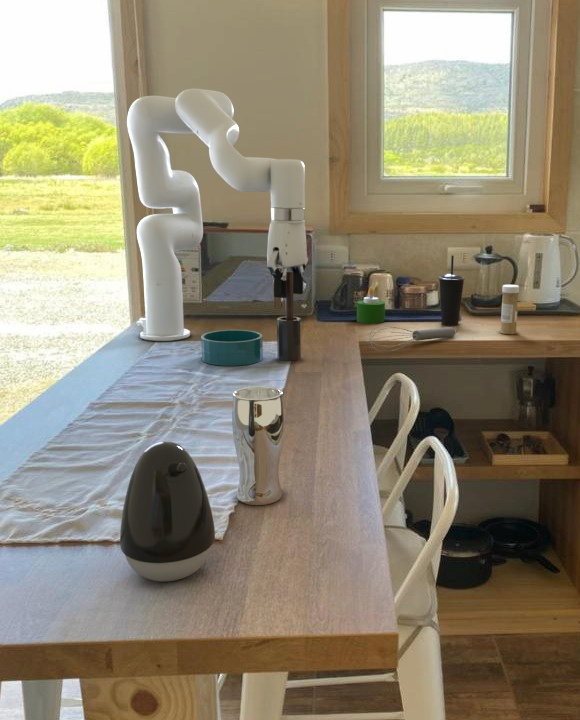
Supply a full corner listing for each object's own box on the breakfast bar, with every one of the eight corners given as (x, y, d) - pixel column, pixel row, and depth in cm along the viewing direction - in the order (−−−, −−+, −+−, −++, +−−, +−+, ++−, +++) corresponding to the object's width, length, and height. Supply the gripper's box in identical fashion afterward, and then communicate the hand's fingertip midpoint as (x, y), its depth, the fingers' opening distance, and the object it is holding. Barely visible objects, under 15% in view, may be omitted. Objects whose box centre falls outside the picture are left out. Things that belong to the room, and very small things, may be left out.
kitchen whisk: (465, 337, 218) (466, 314, 216) (378, 357, 194) (378, 331, 193) (448, 333, 222) (449, 311, 220) (360, 352, 198) (360, 327, 197)
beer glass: (224, 495, 111) (221, 391, 108) (265, 483, 116) (263, 382, 113) (253, 511, 107) (251, 403, 103) (295, 497, 111) (294, 393, 108)
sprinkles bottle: (519, 333, 224) (522, 285, 221) (507, 335, 222) (510, 287, 218) (508, 330, 228) (511, 283, 225) (496, 332, 225) (499, 284, 222)
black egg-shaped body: (141, 604, 84) (133, 467, 80) (110, 564, 92) (101, 438, 88) (231, 577, 90) (228, 448, 86) (194, 541, 98) (190, 422, 94)
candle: (380, 324, 233) (381, 290, 231) (353, 322, 235) (353, 288, 233) (387, 319, 241) (388, 286, 239) (360, 317, 243) (361, 284, 241)
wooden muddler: (283, 358, 188) (282, 271, 183) (287, 357, 189) (286, 270, 184) (292, 360, 187) (291, 272, 182) (296, 358, 188) (295, 271, 183)
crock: (273, 361, 187) (272, 319, 185) (285, 356, 192) (285, 315, 189) (292, 364, 185) (292, 321, 182) (305, 359, 189) (305, 317, 187)
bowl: (189, 363, 183) (188, 337, 182) (226, 351, 196) (225, 327, 194) (239, 371, 178) (238, 344, 176) (274, 358, 190) (274, 333, 188)
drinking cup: (450, 320, 241) (452, 253, 237) (468, 324, 236) (471, 256, 231) (431, 323, 236) (433, 254, 232) (449, 327, 231) (452, 257, 226)
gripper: (294, 213, 189) (294, 289, 194) (251, 216, 174) (253, 299, 179) (322, 214, 186) (321, 292, 191) (281, 218, 171) (281, 302, 175)
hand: (288, 294), depth 185 cm, fingers open, 6 cm apart
